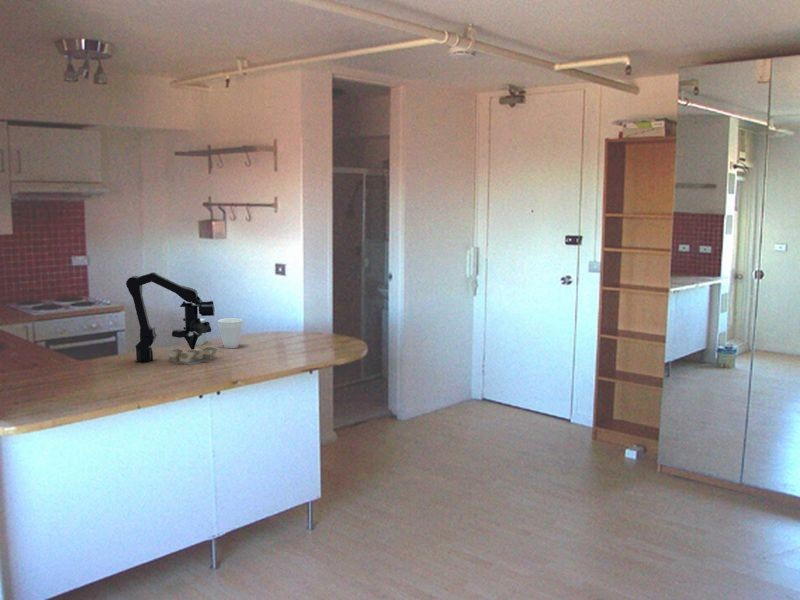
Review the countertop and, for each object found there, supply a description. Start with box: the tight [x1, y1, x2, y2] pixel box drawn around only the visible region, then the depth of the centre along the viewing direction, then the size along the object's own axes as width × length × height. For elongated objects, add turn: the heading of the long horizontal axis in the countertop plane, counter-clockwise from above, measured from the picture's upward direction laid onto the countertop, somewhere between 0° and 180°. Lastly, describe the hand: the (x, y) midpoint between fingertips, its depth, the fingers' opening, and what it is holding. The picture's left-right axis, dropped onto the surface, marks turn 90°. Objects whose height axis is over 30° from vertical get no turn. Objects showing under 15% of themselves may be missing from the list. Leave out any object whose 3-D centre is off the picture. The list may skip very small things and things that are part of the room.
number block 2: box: [202, 346, 219, 361], centre depth 340 cm, size 4×4×5 cm
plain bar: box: [179, 347, 204, 362], centre depth 337 cm, size 12×4×4 cm, turn 147°
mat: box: [172, 358, 217, 366], centre depth 338 cm, size 17×14×1 cm
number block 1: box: [168, 348, 184, 363], centre depth 336 cm, size 4×4×5 cm
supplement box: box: [189, 318, 207, 346], centre depth 375 cm, size 7×7×13 cm
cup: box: [217, 317, 244, 349], centre depth 367 cm, size 12×12×14 cm
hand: (192, 349), depth 337 cm, fingers closed
